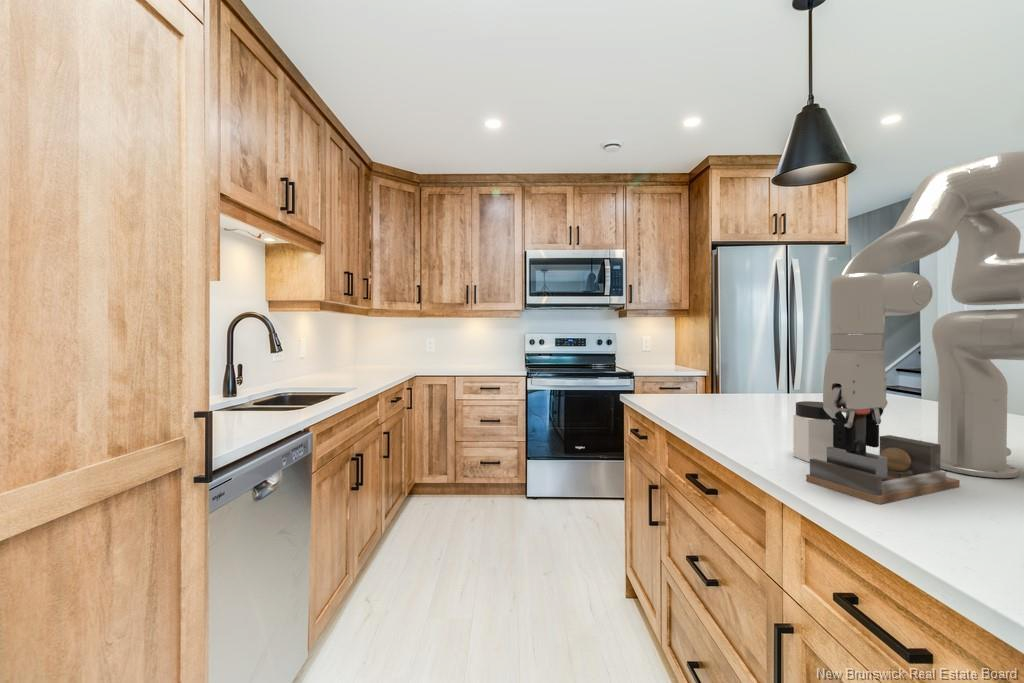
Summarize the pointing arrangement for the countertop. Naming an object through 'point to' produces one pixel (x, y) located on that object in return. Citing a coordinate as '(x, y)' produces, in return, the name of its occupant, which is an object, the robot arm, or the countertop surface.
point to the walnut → (896, 459)
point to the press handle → (859, 451)
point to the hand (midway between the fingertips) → (855, 446)
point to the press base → (888, 474)
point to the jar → (811, 431)
